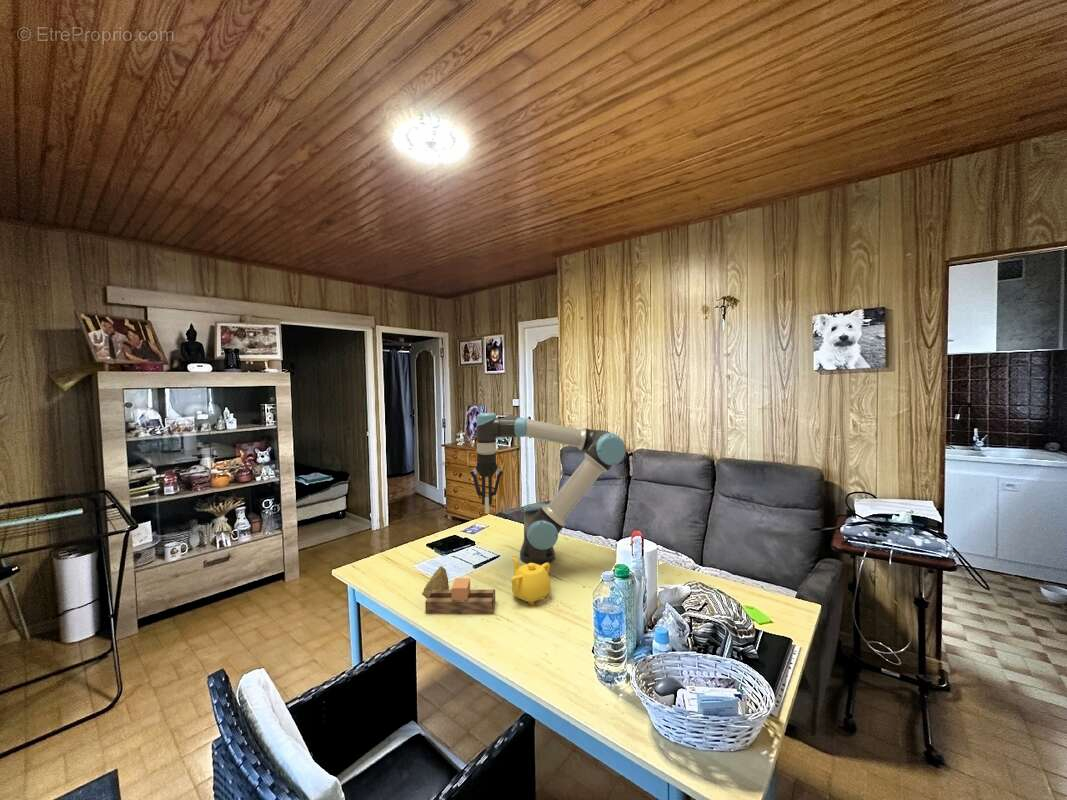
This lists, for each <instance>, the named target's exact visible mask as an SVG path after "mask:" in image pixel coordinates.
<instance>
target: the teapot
mask: <svg viewBox="0 0 1067 800" xmlns="http://www.w3.org/2000/svg"><path fill="white" fill-rule="evenodd" d="M511 559H512V560H513V576H512V577H511V580H510V581H511V591H512V593H513V594H514V596H515V597H517V598H516V599H518V600H522V601H525V602H527V605H529V606H533V604H534V603H535V602H536V601H540V600H543V599H542V598H545V599H547V595H548V594H549V593H550V592H551V589H552V583H551V579H550V576H549V573H550V570H551V569H550V568H551V564H550V563H544V564H540V565H538V564H535V563H526V564H523V565H521V566H520V563H519V561H518V559H517V558H516V557H515V556H511ZM534 605H535V604H534Z"/></svg>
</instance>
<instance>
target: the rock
mask: <svg viewBox="0 0 1067 800" xmlns="http://www.w3.org/2000/svg"><path fill="white" fill-rule="evenodd" d="M431 590H450V585H449V577H448V574H447V569H446V568H444V567H443V566H442V565H441V566H439V567H438V568H437V570H436V571H435V572H434V573H433V574H432V576H431V578H430V580H428V582H427V583H426V585H425V586H424V588H423V591H422V593H421V595H424V596H425V597H428V595H429V593H430V591H431Z"/></svg>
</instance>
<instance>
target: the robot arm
mask: <svg viewBox="0 0 1067 800" xmlns="http://www.w3.org/2000/svg"><path fill="white" fill-rule="evenodd" d="M523 437H524V438H525V437H527V438H531V439H536V440H540V441H545V442H551V443H555V444H560V445H565V446H570V447H576V448H577V449H578V450H579V451H583V452H584V459H583V461H581V463H580V464H579V465H578V467H577V468H576V469H575V471H574V472H573V473H572V474H571V476H570V477H569V478H568V479H567V481H566V482H565V483H564V484H563V485H562V487H560V489H559V491H558V492H557V493H556V494H555V495H554V497H553V498H552V499H551V501H549V503H542V502H538V503H528V504H527V503H526V505H524V507H523V524H524V525H523V542H522V545H521V548H520V551H519V559H520V560H521V561H522V562H523V563H526V564H528V563H535V564H538V565H542V564H544V563H549V564H550V563H552V562H553V561H554V560H555V559H556V551H555V547H554V546H555V545H556V544H557V541H558V539H559V533H560V532H561V531H562V530H563V528H564V527H565V520H566V518H567V517H568V516H569V514H570V513H571V512H572V511H573V509H575V507H576V506H577V504H578V503H579V502H580V501H581V500H582V499H583V497H584V496H585V495H586V493H587V492H588V491H589V490H590V488H591V487H592V486H593V484H594V483H595V482H596V480H597V479H598V478H599V477H600V476H601V475H602V473H606V472H607V473H609V471H610V469H611V468H612V467H613V466H614V465H617V464H619V463H621V462H622V460H623V459H624V458H625V455H626V451H627V450H626V445H625V442H624V440H623V439H622V438H621V437H620V436H619V435H618V434H615V433H613V432H610V431H607V430H604V429H603V430H601V429H591V428H584V427H583V428H581V429H579V428H574V427H568V426H565V425H564V426H563V425H559V424H555V423H554V424H553V423H549V422H546V421H545V422H544V421H540V420H535V419H530V418H526V417H520V416H516V415H513V414H508V415H506V416H504V417H503V418H502V417H501V418H498V417H497V415H496V413H494V412H481V413H478V414H477V416H476V452H477V454H476V466H475V468H473V469H471V471H469V472H470V473H469V474H470V475H471V477H472V479H473V482H474V487H475V492H476V494H477V496H481V504H482V506H484V514H486V515H487V514H488V515H489V514H490V505H492V504H493V496H496V495H497V492H498V489H499V484H500V480H501V476H502V475H503V473H504V470H503V469H500V467H499V466H498V463H497V453H496V452H497V438H523ZM477 473H478V474H479V475H480V476H481V487H480V484H479V482H480V481H479V479H478V475H477ZM494 474H497V476H496V480H495V484H494V489H493V476H494ZM486 478H487V481H488V488H487V489H488V495H486V494H487V493H486V486H487V485H486V484H487V483H486Z"/></svg>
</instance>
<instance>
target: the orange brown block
mask: <svg viewBox="0 0 1067 800" xmlns="http://www.w3.org/2000/svg"><path fill="white" fill-rule="evenodd" d="M451 590H452V600H467V599H468V595H469V592H470V590H471V578H470V577H466V578H465V577H464V578H463V577H460V578H459V577H457V578H456V577H455V578H454V582H453V583H452V585H451Z"/></svg>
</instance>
